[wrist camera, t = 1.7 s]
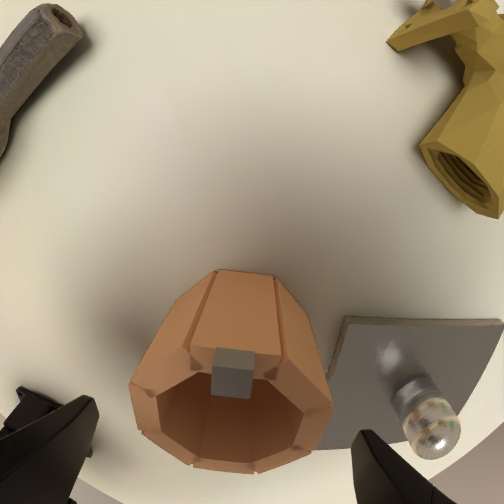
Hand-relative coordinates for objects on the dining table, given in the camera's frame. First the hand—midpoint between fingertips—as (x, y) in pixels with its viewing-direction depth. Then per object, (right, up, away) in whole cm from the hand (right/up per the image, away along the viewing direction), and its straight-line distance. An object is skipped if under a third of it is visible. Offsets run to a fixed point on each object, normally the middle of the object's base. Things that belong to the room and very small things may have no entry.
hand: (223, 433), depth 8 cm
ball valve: (+12, +15, +2) cm, 19 cm away
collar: (0, +2, +6) cm, 6 cm away
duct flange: (+11, -3, +7) cm, 13 cm away
